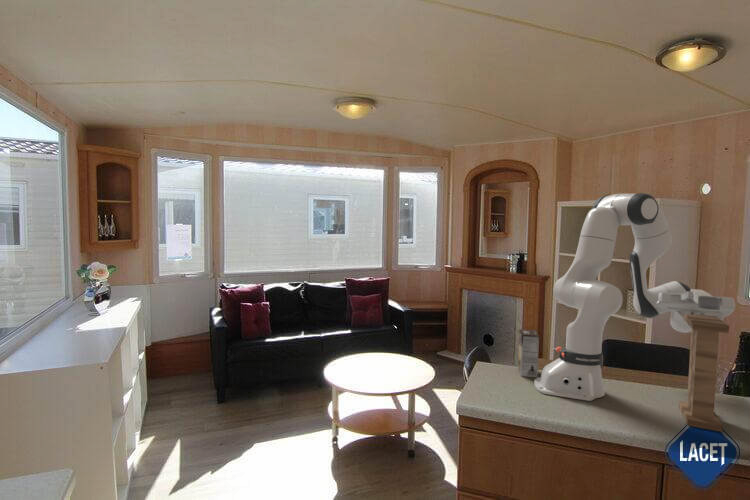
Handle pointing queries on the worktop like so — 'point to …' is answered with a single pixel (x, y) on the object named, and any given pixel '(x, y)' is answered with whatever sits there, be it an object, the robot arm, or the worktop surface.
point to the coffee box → (528, 353)
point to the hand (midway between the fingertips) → (699, 294)
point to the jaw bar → (705, 300)
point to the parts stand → (702, 372)
